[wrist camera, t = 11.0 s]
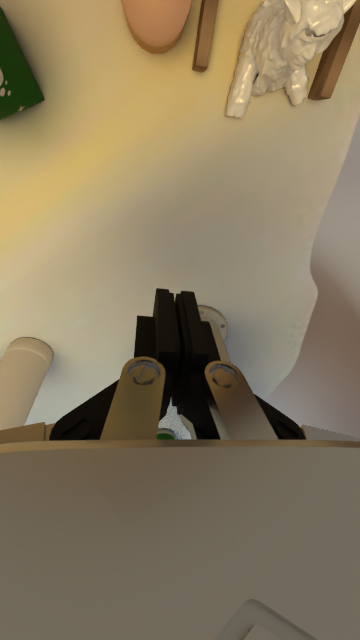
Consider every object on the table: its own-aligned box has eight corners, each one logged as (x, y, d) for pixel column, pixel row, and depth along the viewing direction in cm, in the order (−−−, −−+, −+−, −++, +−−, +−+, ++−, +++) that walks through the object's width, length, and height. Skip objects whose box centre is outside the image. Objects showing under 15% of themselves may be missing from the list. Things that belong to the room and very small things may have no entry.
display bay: (316, 100, 31) (330, 98, 28) (192, 69, 28) (196, 64, 26) (369, -44, 24) (392, -63, 22) (215, -101, 22) (223, -128, 19)
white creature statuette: (224, 122, 31) (256, 121, 22) (216, 17, 26) (253, -46, 16) (302, 103, 31) (369, 92, 21) (309, -9, 25) (404, -89, 16)
